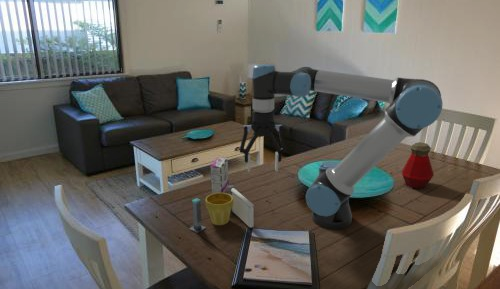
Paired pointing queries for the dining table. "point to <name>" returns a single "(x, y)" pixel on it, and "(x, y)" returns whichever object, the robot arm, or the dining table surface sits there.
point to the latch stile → (197, 216)
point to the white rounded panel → (242, 207)
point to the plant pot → (219, 207)
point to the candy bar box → (219, 176)
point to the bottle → (418, 166)
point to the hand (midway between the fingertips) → (262, 170)
